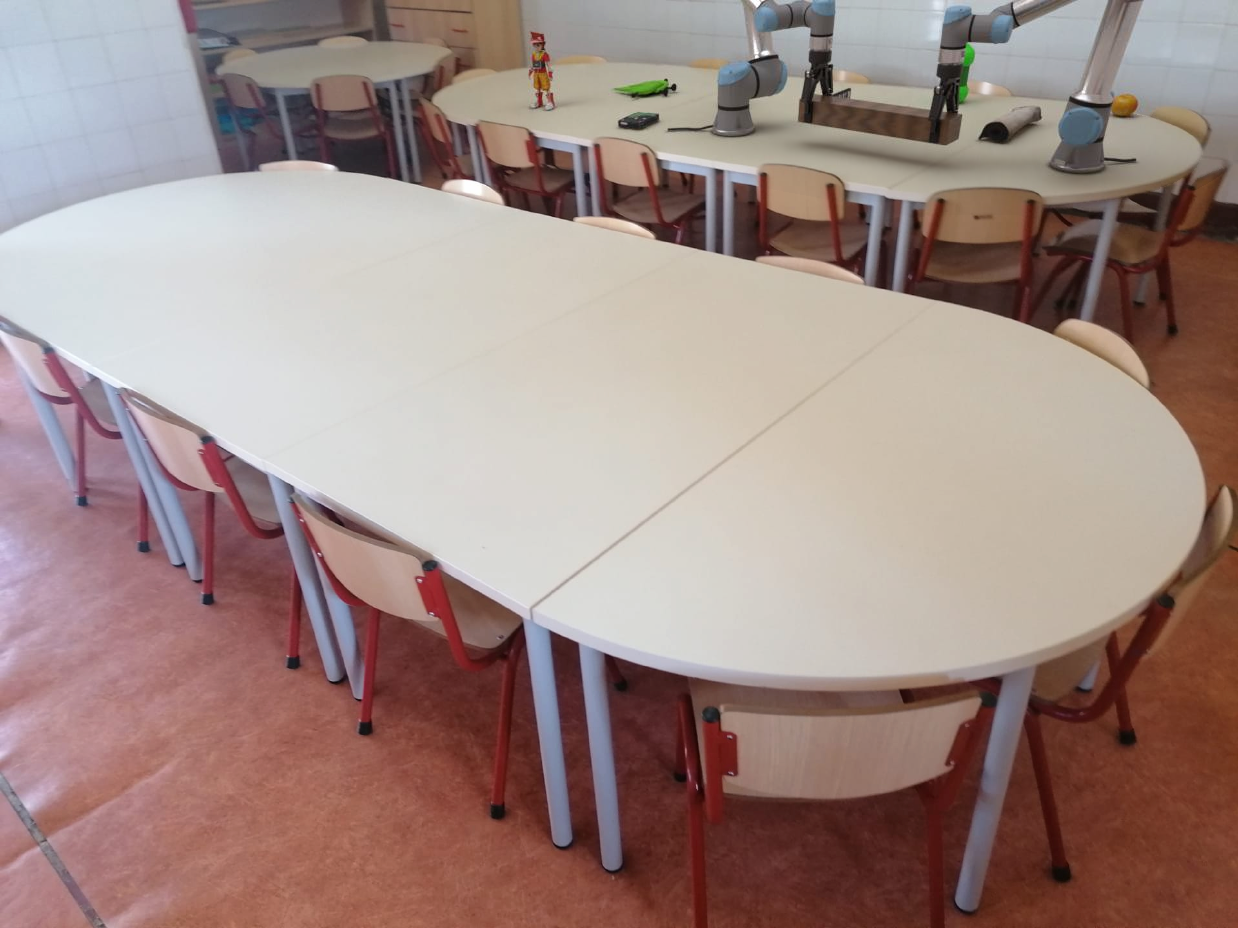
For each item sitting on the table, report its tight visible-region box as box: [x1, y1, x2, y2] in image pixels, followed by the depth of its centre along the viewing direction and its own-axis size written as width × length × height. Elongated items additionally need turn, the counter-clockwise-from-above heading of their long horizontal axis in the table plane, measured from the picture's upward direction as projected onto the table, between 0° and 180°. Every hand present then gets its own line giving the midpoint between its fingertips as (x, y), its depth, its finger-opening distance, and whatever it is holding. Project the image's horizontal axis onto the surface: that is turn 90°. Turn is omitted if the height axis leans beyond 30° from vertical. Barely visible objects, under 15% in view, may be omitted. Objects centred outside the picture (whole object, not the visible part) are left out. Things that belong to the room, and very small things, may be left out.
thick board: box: [797, 93, 963, 147], centre depth 297 cm, size 55×9×8 cm, turn 47°
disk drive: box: [617, 111, 660, 130], centre depth 351 cm, size 10×3×15 cm
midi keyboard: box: [831, 87, 852, 99], centre depth 358 cm, size 18×1×5 cm, turn 138°
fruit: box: [1111, 93, 1139, 117], centre depth 325 cm, size 8×9×8 cm
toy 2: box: [612, 78, 677, 99], centre depth 396 cm, size 28×5×30 cm
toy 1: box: [527, 31, 556, 111], centre depth 374 cm, size 12×9×30 cm
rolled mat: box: [977, 105, 1043, 144], centre depth 315 cm, size 30×9×10 cm
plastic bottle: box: [959, 42, 976, 104], centre depth 348 cm, size 10×10×25 cm
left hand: (815, 119), depth 312 cm, fingers closed on thick board, 9 cm apart
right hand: (940, 138), depth 286 cm, fingers closed on thick board, 9 cm apart
